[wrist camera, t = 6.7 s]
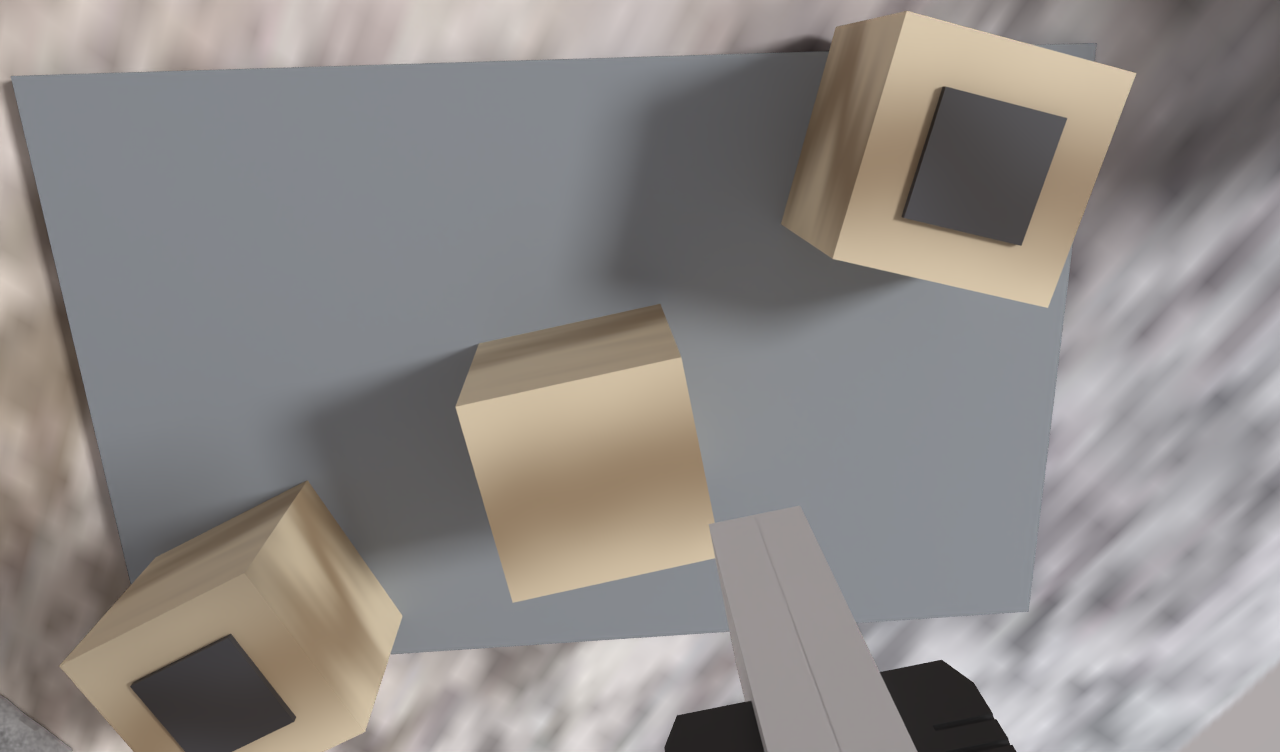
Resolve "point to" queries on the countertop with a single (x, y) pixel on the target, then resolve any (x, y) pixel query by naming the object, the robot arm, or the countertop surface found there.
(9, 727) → the figurine
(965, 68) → the labelled block
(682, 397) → the plain block
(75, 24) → the countertop surface
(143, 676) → the labelled block
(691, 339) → the mat
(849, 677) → the robot arm
